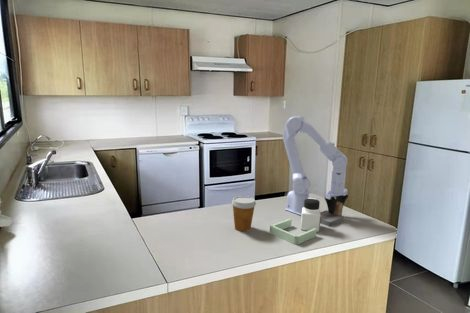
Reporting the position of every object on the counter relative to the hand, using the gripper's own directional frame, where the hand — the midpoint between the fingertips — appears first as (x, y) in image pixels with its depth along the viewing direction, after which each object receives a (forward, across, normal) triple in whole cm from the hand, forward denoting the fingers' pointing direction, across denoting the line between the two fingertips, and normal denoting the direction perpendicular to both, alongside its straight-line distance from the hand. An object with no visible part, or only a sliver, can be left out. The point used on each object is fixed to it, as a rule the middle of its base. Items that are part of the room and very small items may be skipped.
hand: (335, 211), depth 143 cm
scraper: (+3, -5, 0) cm, 6 cm away
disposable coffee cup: (+3, -41, +16) cm, 44 cm away
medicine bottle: (+3, -18, 0) cm, 19 cm away
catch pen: (+3, -29, 0) cm, 29 cm away
